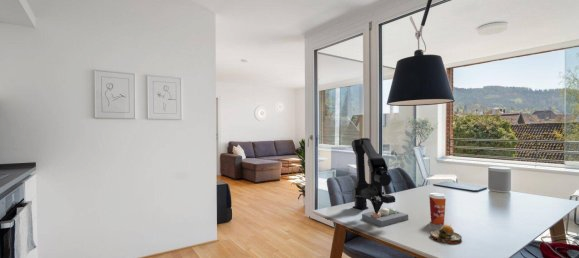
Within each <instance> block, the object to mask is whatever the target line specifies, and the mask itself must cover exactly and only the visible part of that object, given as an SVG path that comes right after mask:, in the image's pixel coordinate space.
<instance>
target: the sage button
mask: <svg viewBox="0 0 579 258" xmlns="http://www.w3.org/2000/svg"><path fill="white" fill-rule="evenodd" d="M397 211H398V209H397V208H389V213H391V214H397Z"/></svg>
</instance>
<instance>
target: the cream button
mask: <svg viewBox="0 0 579 258" xmlns="http://www.w3.org/2000/svg"><path fill="white" fill-rule="evenodd" d="M389 209H390V208H389ZM389 209H387V208H386V207H383V208H382V207H381V208H380V210H381V215H383V216H389Z"/></svg>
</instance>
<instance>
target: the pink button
mask: <svg viewBox="0 0 579 258" xmlns="http://www.w3.org/2000/svg"><path fill="white" fill-rule="evenodd" d="M371 212H372V217H374V218H381V213H380V212H378V213H375V212H373V211H371Z"/></svg>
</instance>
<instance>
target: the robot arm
mask: <svg viewBox="0 0 579 258" xmlns="http://www.w3.org/2000/svg"><path fill="white" fill-rule="evenodd" d="M370 139H371V138H368V137H360V138H358V139H353V140H352V141H351V147H352V151H353V152H354V154H355V163H356V164H355V165H356V167H355V168H356V181H355V183H354V187H353V189H352V191H351V196H352V198H354V205H353V206H352V208H354V209H357V210H359V211H360V210H366V209H369V207H368V206H367V205H368V203H367V201H369V202H370V203H371V205H372V209H373V211H375V213H378V212H379V210H381V208H382V205H383V204H393V203H396V197H395V196H394V195H391V194H385V192H384V191H383V187H387V186H389V185H390V184H391V183H392V177H391V175H390V174H388V171H389V169H388V165H387V162H386V160H385V158H384V157H383V156H382V155H381V154H380V153H378V152H377V151H376V150H375V148H374V146H373V145H372V142H371V140H370ZM365 155H366V157H367V166H368V167H369V173H370V174H369V175H370V177H369V178H370V182H369V183H368V181H366V167H365V164H366V163H365Z"/></svg>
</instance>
